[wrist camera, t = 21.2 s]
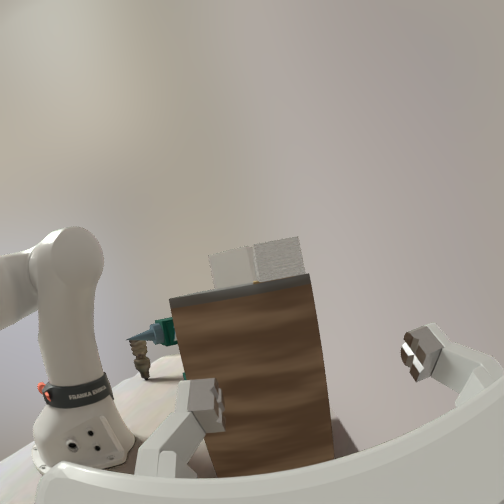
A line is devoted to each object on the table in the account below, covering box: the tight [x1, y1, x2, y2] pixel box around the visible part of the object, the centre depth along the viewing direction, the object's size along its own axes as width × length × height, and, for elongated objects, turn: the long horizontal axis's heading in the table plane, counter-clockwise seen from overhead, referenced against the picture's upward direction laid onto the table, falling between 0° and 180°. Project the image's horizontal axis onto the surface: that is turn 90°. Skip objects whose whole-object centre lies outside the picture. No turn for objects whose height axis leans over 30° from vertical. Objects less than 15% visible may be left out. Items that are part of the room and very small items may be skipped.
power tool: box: [127, 317, 187, 380], centre depth 70 cm, size 32×7×20 cm, turn 126°
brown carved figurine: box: [129, 340, 150, 380], centre depth 78 cm, size 6×6×15 cm
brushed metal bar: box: [253, 237, 305, 282], centre depth 29 cm, size 23×3×2 cm, turn 0°
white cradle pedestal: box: [208, 246, 256, 289], centre depth 79 cm, size 11×11×35 cm
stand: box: [169, 274, 334, 478], centre depth 33 cm, size 16×14×26 cm
